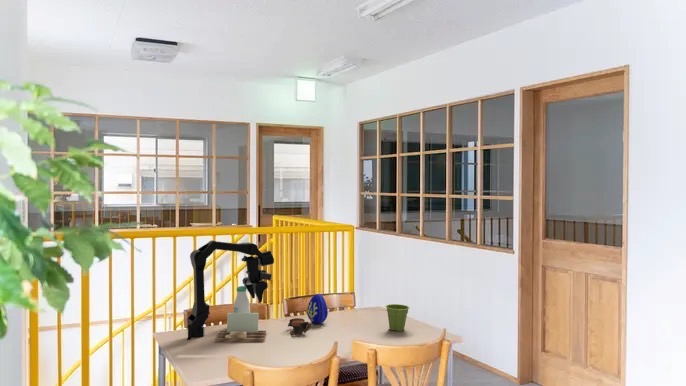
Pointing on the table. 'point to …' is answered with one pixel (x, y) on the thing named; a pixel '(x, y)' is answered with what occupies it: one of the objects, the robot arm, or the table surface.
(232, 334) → the upper pine offcut
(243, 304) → the milk bottle
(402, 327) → the plant pot
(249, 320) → the sage board
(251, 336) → the walnut rack
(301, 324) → the pottery mug
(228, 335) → the lower pine offcut
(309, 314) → the ornament
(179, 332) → the table surface
